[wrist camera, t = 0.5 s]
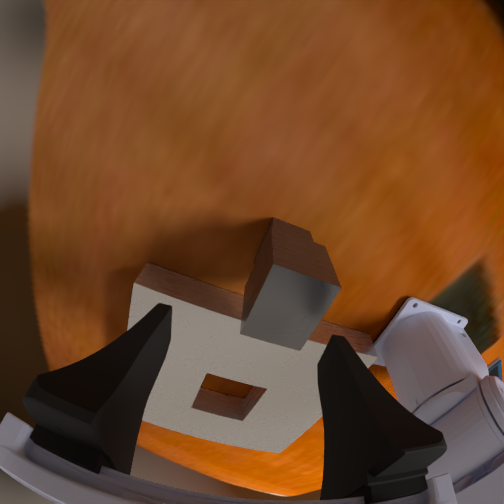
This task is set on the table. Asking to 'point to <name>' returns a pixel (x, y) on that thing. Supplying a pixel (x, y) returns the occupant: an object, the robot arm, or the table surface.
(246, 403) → the grey square slab
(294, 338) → the grey block
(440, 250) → the table surface
